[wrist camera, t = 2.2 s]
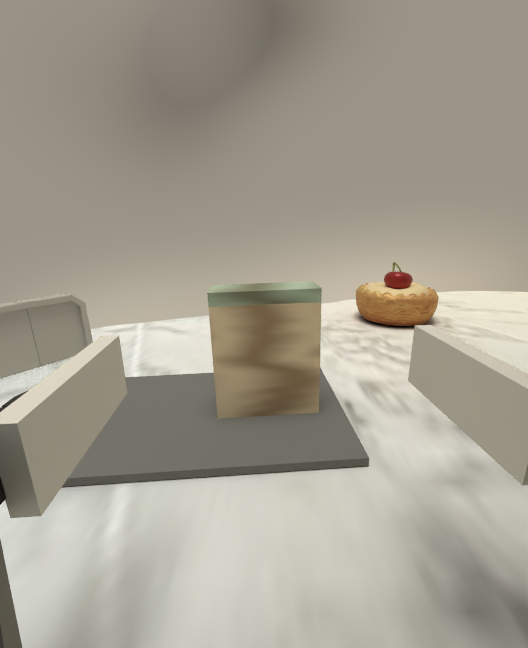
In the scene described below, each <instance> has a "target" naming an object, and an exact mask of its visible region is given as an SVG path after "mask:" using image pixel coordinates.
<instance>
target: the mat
mask: <svg viewBox="0 0 528 648" xmlns="http://www.w3.org/2000/svg"><path fill="white" fill-rule="evenodd" d="M125 380H126V387H127V395H126V396H125V397H124V399H123V400H122V402H121V403H120V405H119V406H118V407H117V409H116V410H115V412H114V413H113V414H112V416H111V417H110V419H109V420H108V422H107V423H106V424H105V426H104V427H103V429H102V430H101V432H100V433H99V434H98V436H97V437H96V439H95V440H94V442H93V443H92V444H91V446H90V447H89V449H88V450H87V452H86V453H85V454H84V456H83V457H82V459H81V460H80V462H79V463H78V464H77V466H76V467H75V469H74V470H73V471H72V473H71V474H70V476H69V477H68V479H67V480H66V481H65V483H64V484H63V486H62V487H67V486H82V485H96V484H111V483H125V482H140V481H155V480H169V479H184V478H198V477H213V476H228V475H242V474H257V473H271V472H286V471H300V470H315V469H330V468H344V467H359V466H368V465H369V457H368V455H367V453H366V451H365V450H364V448H363V446H362V444H361V442H360V440H359V439H358V437H357V435H356V433H355V431H354V429H353V427H352V426H351V424H350V422H349V420H348V418H347V416H346V415H345V413H344V411H343V409H342V407H341V405H340V403H339V402H338V400H337V398H336V396H335V394H334V392H333V390H332V389H331V387H330V385H329V383H328V381H327V379H326V378H325V376H324V374H323V372H322V370H321V368H320V383H319V413H305V414H288V415H272V416H255V417H238V418H222V419H218V416H217V404H216V391H215V379H214V373H201V374H182V375H163V376H144V377H125Z"/></svg>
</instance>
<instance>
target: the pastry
mask: <svg viewBox="0 0 528 648" xmlns="http://www.w3.org/2000/svg"><path fill="white" fill-rule="evenodd" d="M395 265H397V264H396V263H395V262H394V263H393V271H394V268H395ZM397 267H398V268H399V266H398V265H397ZM399 270H400V268H399ZM384 282H385V283H379V282H378V283H377V282H374V283H369V284H368V283H366V284H365V285H361V286H360V287H359V288H358V289H357V290H356V303H357V307H358V310H359V312H360V314H361V315H362V317H363V318H365V319H366V320H369V321H372V322H376V323H380V324H387V325H397V326H415V325H422V324H425V323H426V322H427V321H428V320H429V319H430V318H431V317H432V316H433V314H434V312H435V311H436V308H437V303H438V295H437V293H436V292H435V290H434V289H433V290H432V289H431V288H430V287H429V288H427V287H425V286H423V285H419V284H418V283H415V282H412V277H411V275H409V274H408V273H404V272H401V270H400V272H389V273H387V274H386V275H385V278H384Z"/></svg>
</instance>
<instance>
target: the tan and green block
mask: <svg viewBox="0 0 528 648" xmlns="http://www.w3.org/2000/svg"><path fill="white" fill-rule="evenodd" d="M208 306H209V318H210V330H211V342H212V355H213V367H214V379H215V391H216V404H217V416H218V419H222V418H238V417H255V416H272V415H288V414H305V413H319V383H320V335H321V287H319V286H318V285H317V284H316V283H314V282H313V281H312V282H311V281H310V282H285V283H260V284H238V285H237V284H236V285H212V286H211V287H210V289H209V291H208Z"/></svg>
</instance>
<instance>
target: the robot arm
mask: <svg viewBox="0 0 528 648" xmlns="http://www.w3.org/2000/svg"><path fill="white" fill-rule="evenodd" d="M408 381H409V382H410V383H411V384H412V385H413V386H414V387H415V388H417V389H418V390H419V391H420V392H421V393H422V394H423V395H424V396H425V397H426V398H427V399H429V400H430V401H431V402H432V403H433V404H434V405H435V406H436V407H437V408H438V409H439V410H441V411H442V412H443V413H444V414H445V415H446V416H447V417H448V418H449V419H450V420H452V421H453V422H454V423H455V424H456V425H457V426H458V427H459V428H460V429H461V430H462V431H464V432H465V433H466V434H467V435H468V436H469V437H470V438H471V439H472V440H473V441H474V442H476V443H477V444H478V445H479V446H480V447H481V448H482V449H483V450H484V451H485V452H486V453H488V454H489V455H490V456H491V457H492V458H493V459H494V460H495V461H496V462H497V463H499V464H500V465H501V466H502V467H503V468H504V469H505V470H506V471H507V472H508V473H509V474H511V475H512V476H513V477H514V478H515V479H516V480H517V481H518V482H519V483H520V484H521V485H528V374H527V373H525V372H523V371H521V370H519V369H517V368H515V367H513V366H511V365H509V364H507V363H505V362H503V361H501V360H499V359H497V358H495V357H493V356H491V355H489V354H487V353H485V352H483V351H481V350H479V349H477V348H476V347H474V346H472V345H470V344H468V343H466V342H464V341H462V340H460V339H458V338H456V337H454V336H452V335H450V334H448V333H446V332H444V331H442V330H440V329H438V328H436V327H434V326H432V325H415V327H414V336H413V344H412V353H411V361H410V370H409V378H408ZM126 395H127V387H126V380H125V373H124V367H123V360H122V353H121V346H120V340H119V336H100V337H99V338H98V339H96V340H95V341H94V342H92V343H91V344H90V345H88V346H87V347H86V348H85V349H83V350H82V351H81V352H79V353H78V354H77V355H75V356H74V357H73V358H71V359H70V360H69V361H67V362H66V363H65V364H63V365H62V366H61V367H59V368H58V369H57V370H55V371H54V372H53V373H51V374H50V375H49V376H47V377H46V378H45V379H43V380H42V381H41V382H39V383H38V384H37V385H35V386H34V387H33V388H32V389H30V390H28V391H26V392H24V393H22V394H20V395H18V396H15V397H14V398H12V399H11V400H10V401H8V402H7V403H5V404H4V405H3V406H2V408H0V505H1V503H2V502H3V501H4V500H6V504H7V507H8V511H9V514H10V518H18V517H33V516H42V514H43V513H44V511H45V510H46V509H47V507H48V506H49V504H50V503H51V501H52V500H53V499H54V497H55V496H56V494H57V493H58V491H59V490H60V489H61V487H62V486H63V484H64V483H65V481H66V480H67V479H68V477H69V476H70V474H71V473H72V471H73V470H74V469H75V467H76V466H77V464H78V463H79V462H80V460H81V459H82V457H83V456H84V454H85V453H86V452H87V450H88V449H89V447H90V446H91V444H92V443H93V442H94V440H95V439H96V437H97V436H98V434H99V433H100V432H101V430H102V429H103V427H104V426H105V424H106V423H107V422H108V420H109V419H110V417H111V416H112V414H113V413H114V412H115V410H116V409H117V407H118V406H119V405H120V403H121V402H122V400H123V399H124V397H125V396H126ZM0 648H22V644H21V639H20V634H19V629H18V624H17V619H16V614H15V609H14V605H13V600H12V595H11V590H10V585H9V580H8V575H7V570H6V565H5V560H4V555H3V550H2V546H1V541H0Z"/></svg>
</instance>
